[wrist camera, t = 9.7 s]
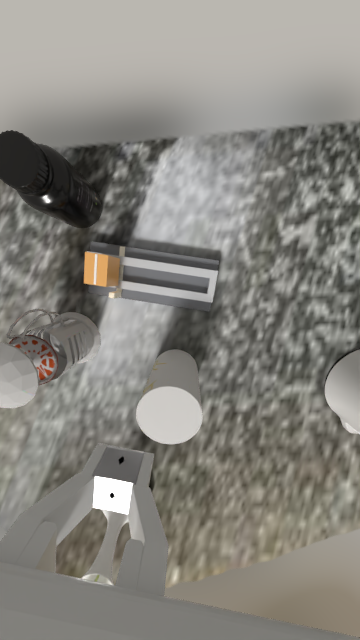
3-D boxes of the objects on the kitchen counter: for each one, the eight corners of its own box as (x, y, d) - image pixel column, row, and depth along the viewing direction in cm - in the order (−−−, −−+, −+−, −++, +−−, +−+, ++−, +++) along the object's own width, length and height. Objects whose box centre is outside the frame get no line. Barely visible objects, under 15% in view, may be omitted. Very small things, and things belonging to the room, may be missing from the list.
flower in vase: (160, 499, 42) (120, 812, 17) (113, 510, 43) (14, 816, 18) (137, 452, 39) (55, 739, 15) (89, 465, 40) (-63, 749, 16)
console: (217, 261, 30) (222, 258, 26) (208, 310, 32) (212, 315, 28) (95, 243, 31) (79, 237, 26) (93, 292, 32) (77, 294, 28)
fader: (122, 259, 29) (107, 255, 24) (120, 285, 30) (105, 286, 25) (103, 256, 29) (84, 251, 24) (102, 282, 30) (83, 283, 25)
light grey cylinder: (156, 345, 34) (140, 381, 22) (201, 353, 34) (208, 392, 22) (150, 385, 36) (132, 438, 24) (193, 393, 36) (195, 449, 24)
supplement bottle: (65, 231, 31) (-12, 201, 19) (56, 183, 29) (-33, 119, 17) (106, 227, 30) (54, 195, 18) (99, 179, 29) (39, 110, 17)
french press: (45, 356, 35) (-272, 528, 11) (51, 295, 33) (-343, 344, 8) (96, 368, 35) (-105, 566, 11) (106, 309, 33) (-128, 395, 9)
